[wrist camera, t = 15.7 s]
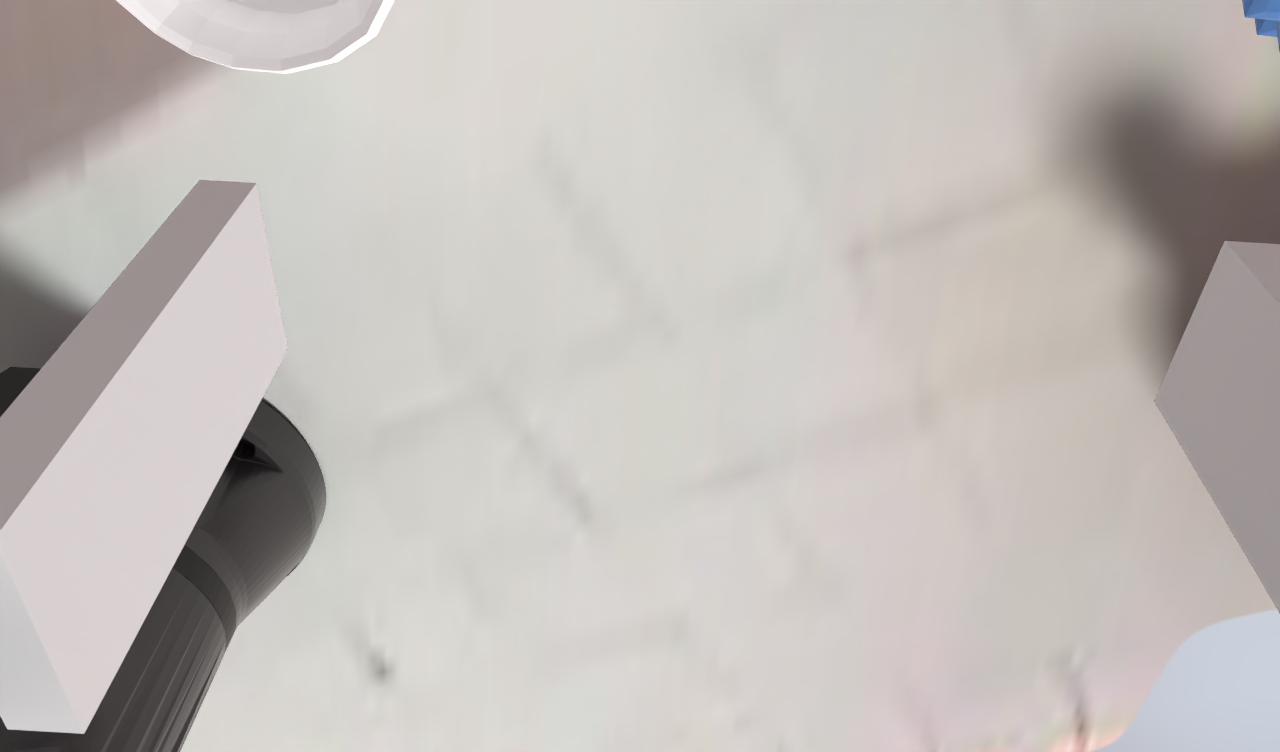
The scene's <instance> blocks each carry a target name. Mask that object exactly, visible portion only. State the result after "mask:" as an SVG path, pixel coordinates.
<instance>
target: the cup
mask: <svg viewBox="0 0 1280 752" xmlns="http://www.w3.org/2000/svg"><path fill="white" fill-rule="evenodd" d="M116 1H117V2H119V3H120V4H121V5H122V6H123V7H124V8H126V9H127V10H128V11H129V12H130V13H131V14H133V15H134V16H135V17H136V18H137V19H139V20H140V21H141V22H142V23H143V24H144V25H146V26H147V27H148V28H149V29H150V30H151V31H153V32H154V33H155V34H157V35H158V36H160V37H162V38H163V39H165V40H167V41H168V42H170V43H172V44H173V45H175V46H177V47H178V48H180V49H182V50H184V51H185V52H187V53H189V54H190V55H193V56H196V57H199V58H202V59H205V60H208V61H211V62H214V63H218V64H221V65H224V66H227V67H230V68H233V69H237V70H249V71H260V72H272V73H283V74H289V73H293V72H298V71H302V70H306V69H310V68H314V67H319V66H323V65H327V64H331V63H336V62H338V61H340V60H341V59H343V58H344V57H346V56H347V55H349V54H350V53H352V52H353V51H355V50H356V49H358V48H359V47H360V46H362V45H363V44H365V43H366V42H368V41H369V40H371V39H372V38H374V37H375V36H377V34H378V32H379V30H380V28H381V26H382V24H383V22H384V20H385V18H386V16H387V14H388V12H389V10H390V8H391V6H392V4H393V2H394V0H116Z"/></svg>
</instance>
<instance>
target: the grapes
mask: <svg viewBox="0 0 1280 752" xmlns="http://www.w3.org/2000/svg"><path fill="white" fill-rule="evenodd" d="M1243 8H1244V15H1245V17H1248V18H1255V23H1256V31H1257V35H1264V36H1272V37H1278V44H1279V51H1280V0H1243Z"/></svg>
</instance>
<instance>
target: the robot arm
mask: <svg viewBox="0 0 1280 752" xmlns="http://www.w3.org/2000/svg"><path fill="white" fill-rule="evenodd" d="M287 351H288V347H287V341H286V336H285V331H284V326H283V320H282V315H281V310H280V305H279V299H278V294H277V289H276V284H275V278H274V273H273V268H272V263H271V257H270V252H269V247H268V242H267V236H266V231H265V226H264V221H263V215H262V210H261V205H260V200H259V194H258V189H257V184H256V183H243V182H226V181H209V180H199V181H198V183H197V184H196V185H195V186H194V187H193V189H192V190H191V191H190V192H189V193H188V195H187V196H186V197H185V198H184V199H183V200H182V202H181V203H180V204H179V205H178V206H177V208H176V209H175V210H174V211H173V212H172V214H171V215H170V216H169V217H168V218H167V220H166V221H165V222H164V223H163V224H162V225H161V227H160V228H159V229H158V230H157V231H156V233H155V234H154V235H153V236H152V237H151V239H150V240H149V241H148V242H147V243H146V245H145V246H144V247H143V248H142V249H141V250H140V252H139V253H138V254H137V255H136V256H135V258H134V259H133V260H132V261H131V262H130V264H129V265H128V266H127V267H126V268H125V270H124V271H123V272H122V273H121V274H120V275H119V277H118V278H117V279H116V280H115V281H114V283H113V284H112V285H111V286H110V287H109V289H108V290H107V291H106V292H105V293H104V295H103V296H102V297H101V298H100V299H99V300H98V302H97V303H96V304H95V305H94V306H93V308H92V309H91V310H90V311H89V312H88V314H87V315H86V316H85V317H84V318H83V320H82V321H81V322H80V323H79V324H78V325H77V327H76V328H75V329H74V330H73V331H72V333H71V334H70V335H69V336H68V337H67V339H66V340H65V341H64V342H63V343H62V345H61V346H60V347H59V348H58V349H57V350H56V352H55V353H54V354H53V355H52V356H51V358H50V359H49V360H48V361H47V362H46V364H45V365H44V366H43V367H42V368H41V369H35V368H19V367H10V368H8V369H7V370H5V371H3V372H2V373H0V752H180V751H181V749H182V746H183V744H184V742H185V740H186V738H187V735H188V733H189V731H190V729H191V727H192V724H193V722H194V720H195V718H196V715H197V713H198V711H199V709H200V707H201V704H202V702H203V700H204V698H205V696H206V693H207V691H208V689H209V687H210V685H211V682H212V680H213V678H214V676H215V674H216V671H217V669H218V667H219V665H220V663H221V660H222V658H223V656H224V653H225V651H226V649H227V647H228V645H229V642H230V640H231V638H232V636H233V634H234V632H235V630H236V628H237V626H238V625H239V624H240V623H241V622H242V621H243V620H244V619H245V618H246V617H247V616H248V615H249V614H250V613H251V612H252V611H253V610H254V609H255V608H256V607H257V606H258V605H259V604H260V603H261V602H262V601H263V600H264V599H265V598H266V597H267V596H268V595H269V594H270V593H271V592H272V591H273V590H274V589H275V588H276V587H277V586H278V585H279V584H280V583H281V582H282V581H283V580H284V578H285V577H286V576H288V575H289V574H290V573H291V572H292V571H293V570H294V569H295V568H296V567H297V566H298V565H299V564H300V562H301V561H302V560H303V558H304V557H305V555H306V553H307V552H308V550H309V548H310V546H311V544H312V542H313V539H314V537H315V535H316V532H317V530H318V528H319V525H320V523H321V521H322V518H323V515H324V511H325V505H326V490H325V483H324V479H323V475H322V472H321V469H320V467H319V464H318V462H317V460H316V458H315V456H314V455H313V453H312V451H311V450H310V448H309V446H308V445H307V444H306V442H305V441H304V439H303V438H302V437H301V436H300V435H299V433H298V432H297V431H296V430H295V429H294V428H293V427H292V426H291V425H290V424H289V423H288V422H287V421H286V420H285V419H284V418H283V417H282V416H281V415H280V414H278V413H277V412H276V411H275V410H274V409H272V408H271V407H270V406H268V405H267V404H266V403H264V402H263V401H261V400H262V398H263V396H264V394H265V392H266V390H267V388H268V386H269V385H270V383H271V381H272V379H273V377H274V375H275V373H276V371H277V369H278V368H279V366H280V364H281V362H282V360H283V358H284V356H285V354H286V352H287ZM1154 401H1155V403H1156V405H1157V406H1158V408H1159V410H1160V411H1161V413H1162V415H1163V417H1164V418H1165V420H1166V422H1167V423H1168V425H1169V427H1170V428H1171V430H1172V432H1173V433H1174V435H1175V437H1176V439H1177V440H1178V442H1179V444H1180V445H1181V447H1182V449H1183V450H1184V452H1185V454H1186V455H1187V457H1188V459H1189V461H1190V462H1191V464H1192V466H1193V467H1194V469H1195V471H1196V472H1197V474H1198V476H1199V477H1200V479H1201V481H1202V482H1203V484H1204V486H1205V488H1206V489H1207V491H1208V493H1209V494H1210V496H1211V498H1212V499H1213V501H1214V503H1215V504H1216V506H1217V508H1218V510H1219V511H1220V513H1221V515H1222V516H1223V518H1224V520H1225V521H1226V523H1227V525H1228V526H1229V528H1230V530H1231V532H1232V533H1233V535H1234V537H1235V538H1236V540H1237V542H1238V543H1239V545H1240V547H1241V548H1242V550H1243V552H1244V553H1245V555H1246V557H1247V559H1248V560H1249V562H1250V564H1251V565H1252V567H1253V569H1254V570H1255V572H1256V574H1257V575H1258V577H1259V579H1260V581H1261V582H1262V584H1263V586H1264V587H1265V589H1266V591H1267V592H1268V594H1269V596H1270V597H1271V599H1272V601H1273V603H1274V604H1275V606H1276V608H1277V609H1278V611H1279V613H1280V244H1269V243H1252V242H1235V241H1224V243H1223V246H1222V248H1221V250H1220V252H1219V255H1218V257H1217V259H1216V262H1215V264H1214V266H1213V268H1212V271H1211V273H1210V275H1209V277H1208V280H1207V282H1206V284H1205V287H1204V289H1203V291H1202V293H1201V296H1200V298H1199V300H1198V302H1197V305H1196V307H1195V309H1194V311H1193V314H1192V316H1191V318H1190V321H1189V323H1188V325H1187V327H1186V330H1185V332H1184V334H1183V336H1182V339H1181V341H1180V343H1179V345H1178V348H1177V350H1176V352H1175V355H1174V357H1173V359H1172V361H1171V364H1170V366H1169V368H1168V370H1167V373H1166V375H1165V377H1164V379H1163V382H1162V384H1161V386H1160V389H1159V391H1158V393H1157V395H1156V398H1155V400H1154Z"/></svg>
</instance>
